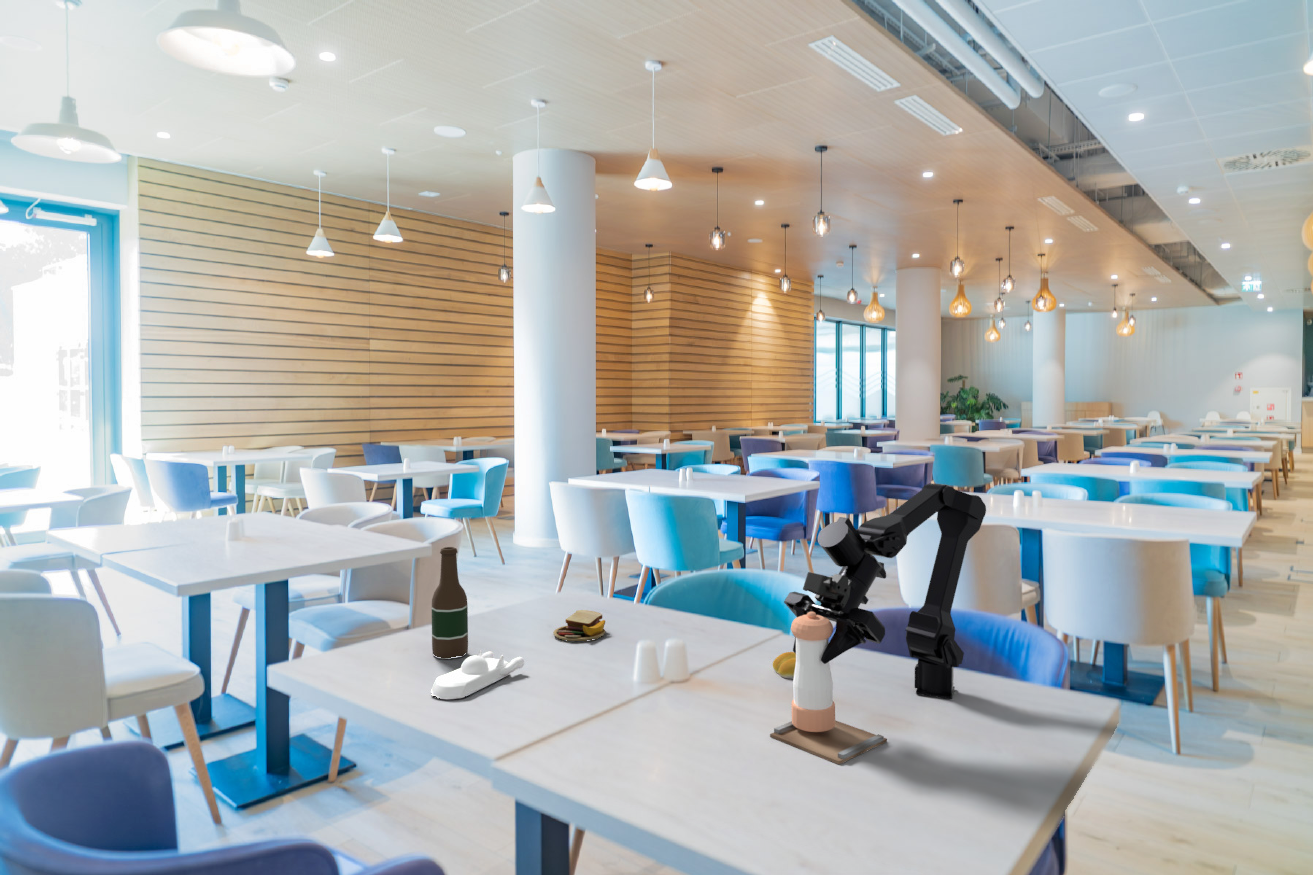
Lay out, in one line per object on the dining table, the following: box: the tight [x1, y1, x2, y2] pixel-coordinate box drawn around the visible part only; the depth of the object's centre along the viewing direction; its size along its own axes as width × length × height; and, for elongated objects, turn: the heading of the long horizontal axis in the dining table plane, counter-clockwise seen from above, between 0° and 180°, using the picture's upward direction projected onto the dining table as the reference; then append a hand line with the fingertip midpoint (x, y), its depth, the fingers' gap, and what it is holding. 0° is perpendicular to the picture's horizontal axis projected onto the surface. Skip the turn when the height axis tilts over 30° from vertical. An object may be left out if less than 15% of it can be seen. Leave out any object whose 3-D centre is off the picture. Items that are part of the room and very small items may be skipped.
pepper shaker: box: [790, 612, 836, 732], centre depth 138 cm, size 7×7×19 cm
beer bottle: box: [431, 546, 469, 658], centre depth 182 cm, size 8×8×24 cm
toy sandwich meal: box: [552, 609, 606, 642], centre depth 198 cm, size 12×14×5 cm
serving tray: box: [769, 719, 888, 765], centre depth 136 cm, size 13×14×1 cm
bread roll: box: [772, 651, 796, 680], centre depth 169 cm, size 8×9×4 cm
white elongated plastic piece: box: [430, 650, 525, 700], centre depth 163 cm, size 10×20×6 cm, turn 151°
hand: (808, 657), depth 137 cm, fingers closed on pepper shaker, 6 cm apart
